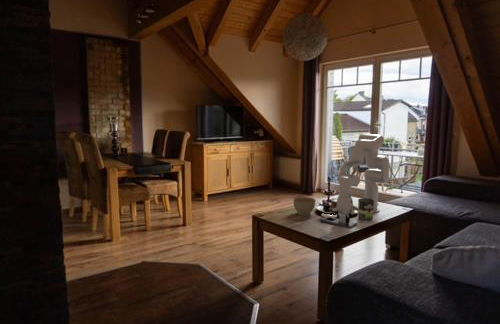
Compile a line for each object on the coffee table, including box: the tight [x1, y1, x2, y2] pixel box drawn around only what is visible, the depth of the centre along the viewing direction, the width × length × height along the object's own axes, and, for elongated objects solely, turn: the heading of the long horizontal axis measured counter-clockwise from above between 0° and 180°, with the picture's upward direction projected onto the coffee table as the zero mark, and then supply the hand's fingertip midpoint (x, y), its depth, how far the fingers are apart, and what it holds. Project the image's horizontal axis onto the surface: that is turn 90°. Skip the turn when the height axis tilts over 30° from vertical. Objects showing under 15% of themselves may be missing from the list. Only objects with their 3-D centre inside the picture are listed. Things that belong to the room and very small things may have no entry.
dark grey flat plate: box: [320, 216, 358, 229], centre depth 244 cm, size 9×22×2 cm, turn 47°
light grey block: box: [338, 212, 349, 224], centre depth 241 cm, size 4×4×8 cm
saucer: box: [320, 212, 338, 218], centre depth 260 cm, size 11×11×1 cm
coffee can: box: [357, 198, 374, 223], centre depth 250 cm, size 10×10×14 cm
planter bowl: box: [292, 196, 316, 217], centre depth 264 cm, size 16×16×11 cm
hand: (343, 221), depth 241 cm, fingers open, 4 cm apart
